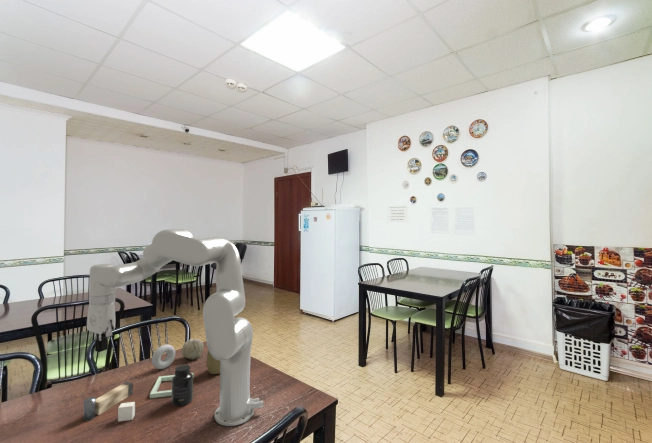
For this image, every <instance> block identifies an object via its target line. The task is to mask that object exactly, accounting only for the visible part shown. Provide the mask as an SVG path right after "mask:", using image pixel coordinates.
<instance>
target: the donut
mask: <svg viewBox="0 0 652 443" xmlns="http://www.w3.org/2000/svg"><path fill="white" fill-rule="evenodd" d="M164 354H166V357H165V358H164V359H163V360H162V356H163V355H164ZM175 357H176V349H175V348H174V346H173V345H171V344H167V343H166V344H162V345H160V346H158V347H157V349H156V350H155V351H154V353H153V354H152V358H151V363H152V366H153V367H154V368H155V369H157V370H164V369H166V368H168V367H169V366H170V365H171V364H172V363H173V362H174V360H175Z"/></svg>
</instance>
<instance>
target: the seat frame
mask: <svg viewBox="0 0 652 443" xmlns="http://www.w3.org/2000/svg"><path fill="white" fill-rule="evenodd" d="M190 373H191V374H192V375H193V378H195V376H194V374H195V373H194V372H190ZM174 376H175V374H172V375H171V374H170V375H162V376H161V375H160V376H158V377H157V379H156V381H155V383H154V385H153V387H152V389H151V390H150V393H149V399H156V398H163V397H164V398H165V397H172V389H168V390H160V391H158V390H159V388H160V385H161V383H162V382H168V381H172V378H173V377H174Z"/></svg>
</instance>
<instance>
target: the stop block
mask: <svg viewBox="0 0 652 443" xmlns="http://www.w3.org/2000/svg"><path fill="white" fill-rule="evenodd" d="M117 410H118V412H117V422H125V421H133V419H134V417H135V414H136V402H135V401H130V402H129V401H128V402H122V403H120V405H119V406H118V408H117Z"/></svg>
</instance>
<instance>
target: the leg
mask: <svg viewBox="0 0 652 443" xmlns="http://www.w3.org/2000/svg"><path fill="white" fill-rule="evenodd" d="M133 394H134V382H130V381H125V382H123V383H121V384H120V385H117V387H115V388H113V389H111V390H109V391H107V392H106V393H104V394H102V395H101V396H99V397H97V398H95V415H98V416H100V415H101V414H103V413H104V412H106V411H108V410H109V409H111V408H113V407H114V406H115V405H117V404H118V403H120V402H123V401H124V400H125V399H127V398H129V397H130V396H132V395H133Z"/></svg>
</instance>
